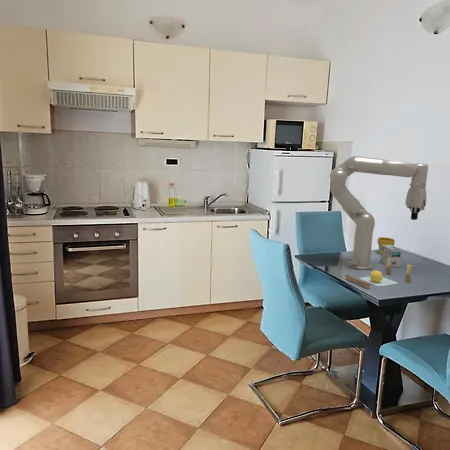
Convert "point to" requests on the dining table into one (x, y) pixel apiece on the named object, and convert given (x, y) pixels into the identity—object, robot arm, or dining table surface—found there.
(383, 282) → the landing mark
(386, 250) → the light bulb box
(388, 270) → the post left
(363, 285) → the stopper wall
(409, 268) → the post right
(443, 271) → the dining table surface
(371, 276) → the ball
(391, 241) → the plant pot
